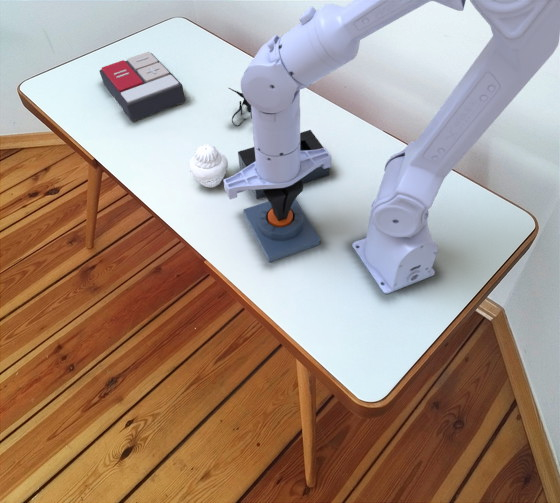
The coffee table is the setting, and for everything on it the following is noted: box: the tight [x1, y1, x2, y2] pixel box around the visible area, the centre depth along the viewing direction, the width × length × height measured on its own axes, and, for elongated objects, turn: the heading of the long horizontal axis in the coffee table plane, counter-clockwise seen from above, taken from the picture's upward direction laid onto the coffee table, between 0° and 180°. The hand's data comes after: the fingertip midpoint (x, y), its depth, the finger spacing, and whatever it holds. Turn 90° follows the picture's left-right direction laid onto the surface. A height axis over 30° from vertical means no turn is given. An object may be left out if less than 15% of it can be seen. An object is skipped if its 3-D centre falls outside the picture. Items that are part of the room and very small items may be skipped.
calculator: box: [98, 51, 186, 122], centre depth 98 cm, size 11×4×15 cm
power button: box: [268, 209, 293, 227], centre depth 75 cm, size 4×4×2 cm
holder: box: [237, 129, 331, 200], centre depth 83 cm, size 7×13×4 cm, turn 113°
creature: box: [228, 87, 252, 127], centre depth 92 cm, size 8×5×8 cm
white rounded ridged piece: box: [188, 144, 229, 189], centre depth 81 cm, size 6×6×7 cm
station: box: [242, 199, 321, 263], centre depth 76 cm, size 10×8×3 cm
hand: (280, 215), depth 74 cm, fingers closed, pressing on power button
